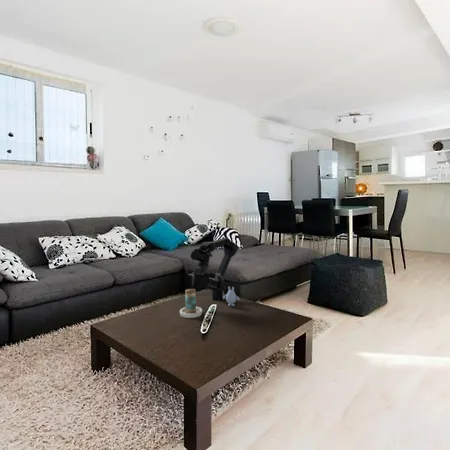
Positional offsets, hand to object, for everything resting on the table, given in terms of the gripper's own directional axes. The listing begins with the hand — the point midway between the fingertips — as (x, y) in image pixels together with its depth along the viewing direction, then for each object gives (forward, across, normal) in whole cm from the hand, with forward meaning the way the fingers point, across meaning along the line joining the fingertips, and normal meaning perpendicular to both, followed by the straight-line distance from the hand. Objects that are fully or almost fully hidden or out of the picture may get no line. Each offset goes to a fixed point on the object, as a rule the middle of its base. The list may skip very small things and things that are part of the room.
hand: (198, 288), depth 207 cm
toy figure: (+7, +19, +10) cm, 23 cm away
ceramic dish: (+15, +1, -7) cm, 16 cm away
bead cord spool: (+14, +1, -7) cm, 16 cm away
